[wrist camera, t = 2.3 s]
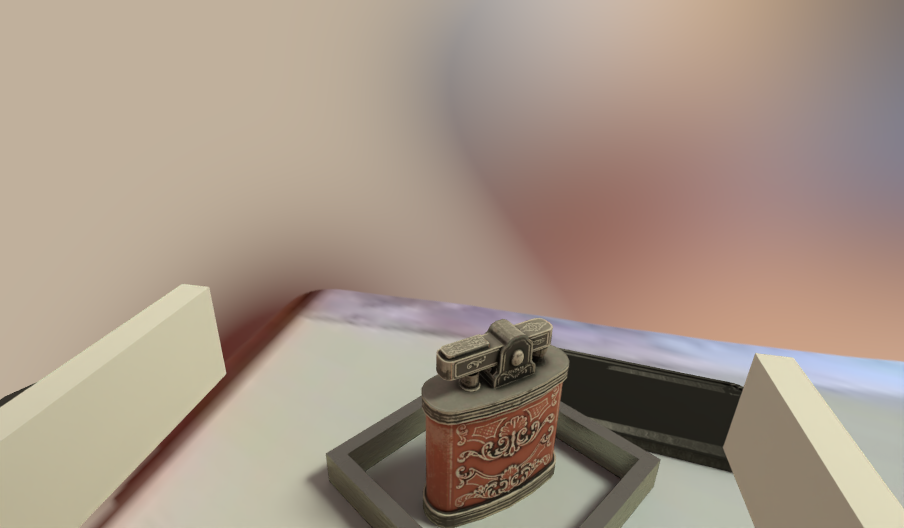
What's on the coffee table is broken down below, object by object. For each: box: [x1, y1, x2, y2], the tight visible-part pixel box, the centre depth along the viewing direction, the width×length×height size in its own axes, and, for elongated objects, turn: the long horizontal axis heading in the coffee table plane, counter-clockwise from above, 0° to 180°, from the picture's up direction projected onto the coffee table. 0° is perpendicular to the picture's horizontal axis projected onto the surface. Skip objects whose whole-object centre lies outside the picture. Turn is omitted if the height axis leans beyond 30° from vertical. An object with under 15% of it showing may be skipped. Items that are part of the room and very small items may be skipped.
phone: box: [558, 348, 744, 472], centre depth 34 cm, size 8×1×15 cm
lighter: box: [422, 318, 569, 528], centre depth 26 cm, size 8×3×10 cm, turn 120°
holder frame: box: [326, 396, 660, 528], centre depth 27 cm, size 13×13×2 cm
